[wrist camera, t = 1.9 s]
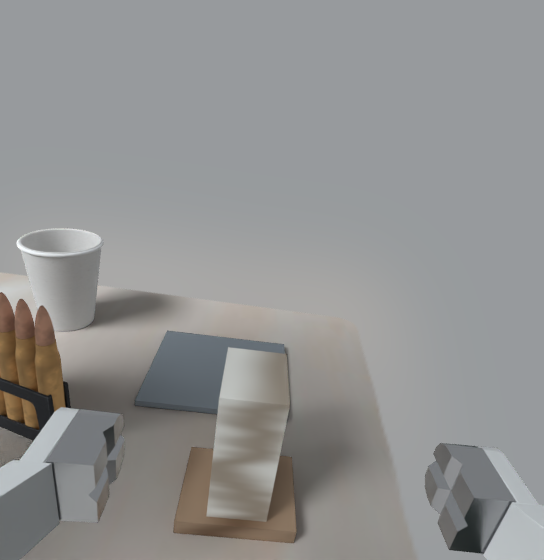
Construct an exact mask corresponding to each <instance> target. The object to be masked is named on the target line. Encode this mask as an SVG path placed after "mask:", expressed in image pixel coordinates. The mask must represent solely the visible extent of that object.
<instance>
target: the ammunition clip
mask: <svg viewBox="0 0 544 560" xmlns="http://www.w3.org/2000/svg"><path fill="white" fill-rule="evenodd" d="M61 407H64V408H71V406H70V398H69V390H68V383H67V382H64V381H63V378H62V368H61V359H60V355H59V352H58V349H57V345H56V339H55V334H54V328H53V324H52V321H51V318H50V316H49V313H48V311H47V310H46V308H45V307H44V306H43V305H41V306H40V307H39V309H38V311H37V315H36V320H35V327H34V322H33V318H32V315H31V312H30V309H29V307H28V305H27V304H26V302H25V301H24V300H23V299H20V300H19V301H18V303H17V306H16V311H15V316H14V313H13V310H12V307H11V305H10V302H9V301H8V299H7V297H6V296H5V295H4V294H3V293H2V292H1V293H0V427H3V428H5V429H7V430H10V431H12V432H15V433H17V434H19V435H22V436H24V437H27V438H29V439H31V440H35V438H36V437H37V436H38V434H39V433H40V432H41V430H42V429H43V427H44V426H45V425H46V423H47V422H48V420H49V419H50V418H51V416H52V415H53V413H54V412H55V411H56V410H58V409H59V408H61Z"/></svg>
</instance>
